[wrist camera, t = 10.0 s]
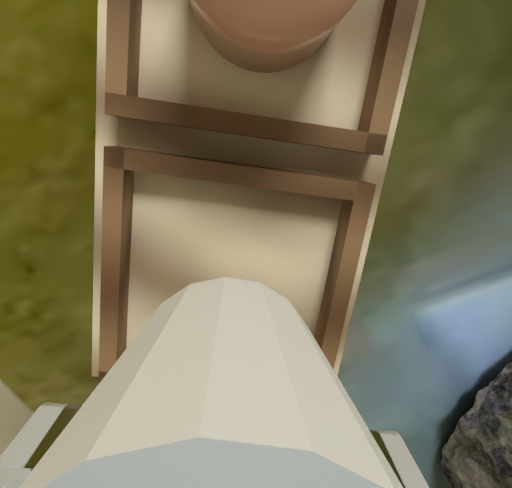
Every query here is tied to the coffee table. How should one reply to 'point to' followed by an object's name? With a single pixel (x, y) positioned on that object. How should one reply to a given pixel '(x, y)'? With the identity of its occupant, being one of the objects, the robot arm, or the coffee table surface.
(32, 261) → the coffee table surface
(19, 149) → the coffee table surface
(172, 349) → the white cylinder
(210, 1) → the tan rounded cylinder
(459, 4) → the coffee table surface
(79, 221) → the coffee table surface
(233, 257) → the divided wooden tray
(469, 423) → the mineral rock
